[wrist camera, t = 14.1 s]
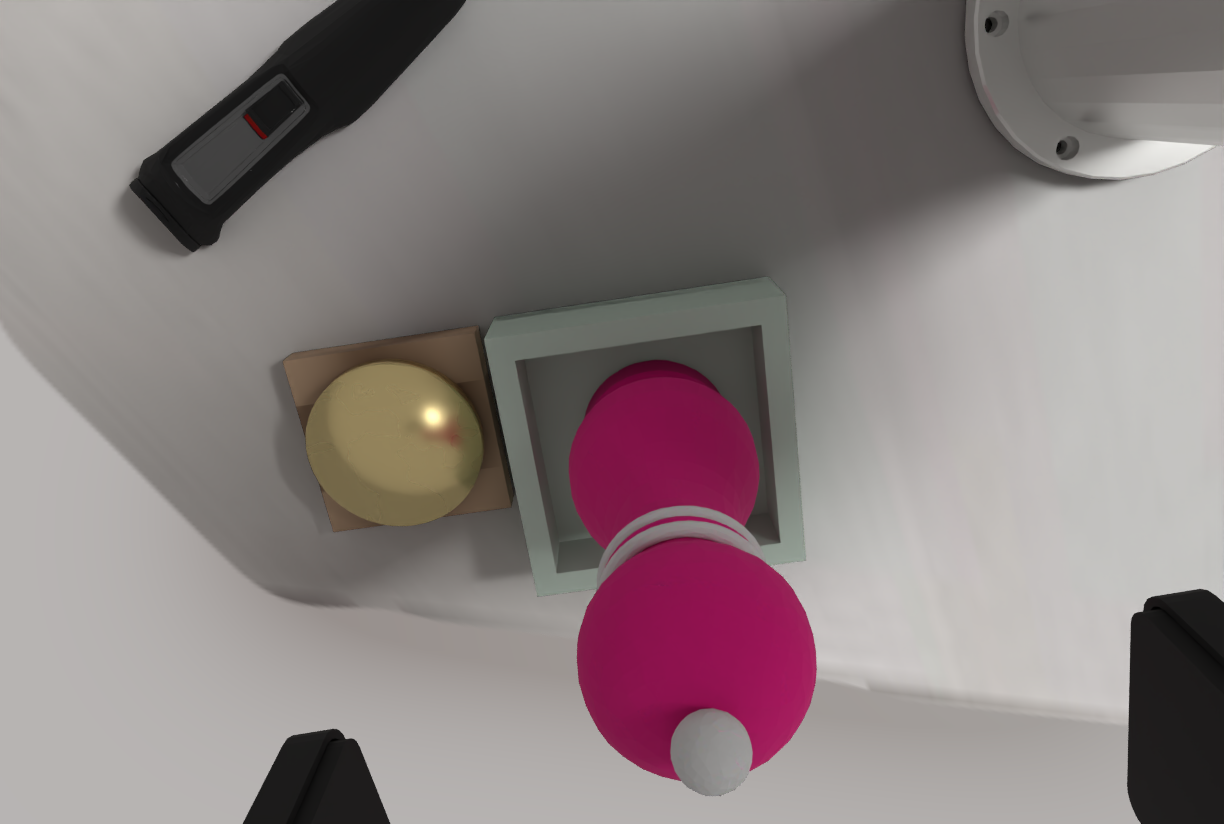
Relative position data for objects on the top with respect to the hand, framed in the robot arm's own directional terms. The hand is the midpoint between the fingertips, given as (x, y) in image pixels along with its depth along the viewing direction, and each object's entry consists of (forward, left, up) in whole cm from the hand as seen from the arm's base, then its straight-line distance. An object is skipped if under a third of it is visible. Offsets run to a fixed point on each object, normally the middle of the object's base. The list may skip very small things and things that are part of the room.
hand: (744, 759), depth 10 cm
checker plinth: (+11, +4, -26) cm, 29 cm away
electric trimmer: (+12, -9, -27) cm, 31 cm away
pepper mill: (0, +6, -26) cm, 26 cm away
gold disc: (+11, +4, -27) cm, 29 cm away
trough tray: (0, +6, -26) cm, 27 cm away
